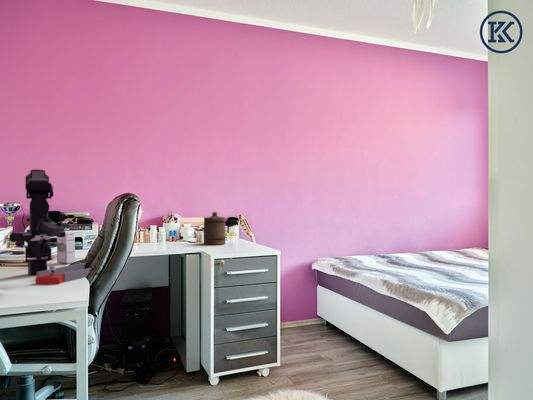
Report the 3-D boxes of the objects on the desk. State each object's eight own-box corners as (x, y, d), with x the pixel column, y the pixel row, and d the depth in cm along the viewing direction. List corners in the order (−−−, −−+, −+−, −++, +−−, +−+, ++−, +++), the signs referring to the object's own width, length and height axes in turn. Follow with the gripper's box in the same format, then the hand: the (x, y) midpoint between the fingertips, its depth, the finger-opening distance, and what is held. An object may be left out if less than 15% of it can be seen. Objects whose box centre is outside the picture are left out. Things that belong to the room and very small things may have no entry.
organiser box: (36, 279, 150) (36, 271, 150) (86, 269, 174) (86, 262, 174) (64, 282, 146) (64, 273, 146) (111, 270, 170) (111, 263, 170)
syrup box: (75, 261, 197) (75, 231, 197) (66, 263, 191) (66, 232, 191) (65, 261, 199) (65, 231, 199) (56, 263, 193) (56, 232, 193)
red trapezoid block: (67, 281, 149) (67, 264, 149) (58, 285, 142) (58, 267, 142) (45, 281, 149) (45, 264, 149) (35, 285, 142) (35, 267, 142)
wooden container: (229, 243, 285) (229, 211, 285) (218, 245, 272) (217, 212, 272) (211, 242, 291) (211, 211, 291) (199, 244, 278) (199, 212, 278)
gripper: (33, 216, 132) (33, 264, 132) (77, 214, 150) (77, 257, 150) (8, 216, 136) (8, 262, 136) (53, 214, 153) (53, 255, 153)
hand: (38, 259), depth 144 cm, fingers closed
